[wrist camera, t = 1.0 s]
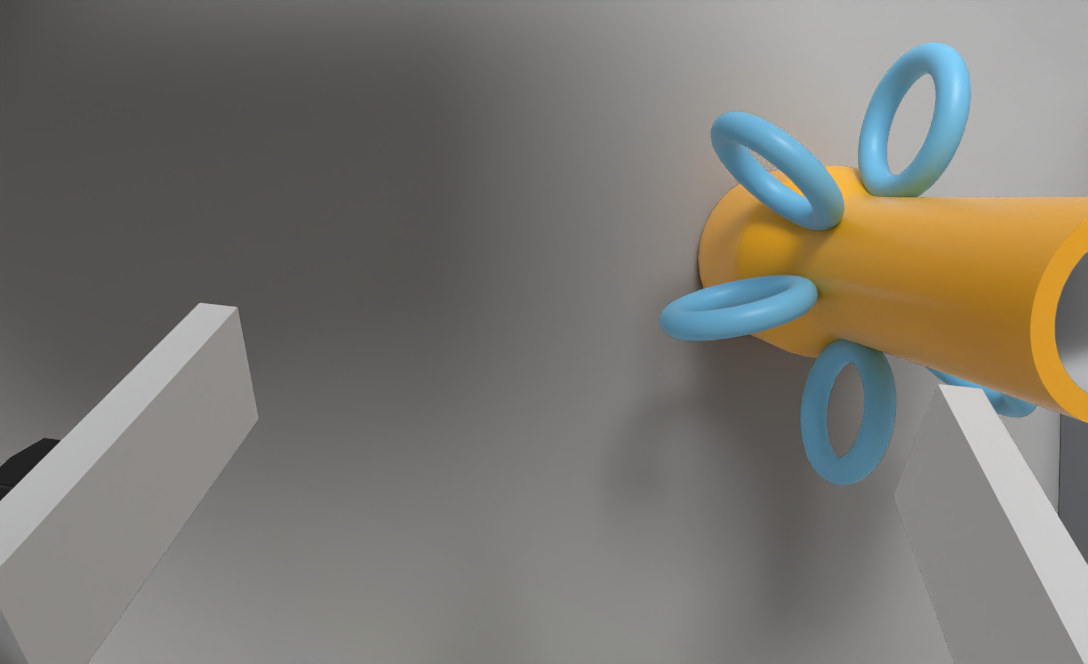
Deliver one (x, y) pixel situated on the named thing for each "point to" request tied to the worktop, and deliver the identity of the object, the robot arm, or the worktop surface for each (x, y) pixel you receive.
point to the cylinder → (892, 270)
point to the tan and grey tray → (1074, 481)
